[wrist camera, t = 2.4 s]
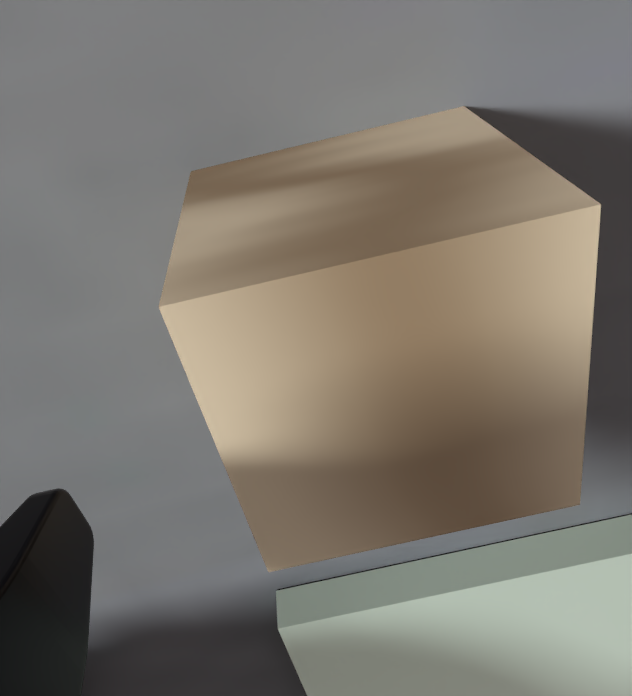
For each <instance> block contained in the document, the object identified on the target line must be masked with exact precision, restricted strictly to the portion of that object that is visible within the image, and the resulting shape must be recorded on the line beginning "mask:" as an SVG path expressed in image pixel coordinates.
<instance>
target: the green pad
mask: <svg viewBox="0 0 632 696" xmlns="http://www.w3.org/2000/svg"><path fill="white" fill-rule="evenodd" d="M276 603H277V624H278V631H279V633H280V635H281V637H282V640H283V642H284V644H285V647H286V649H287V651H288V653H289V656H290V658H291V660H292V662H293V665H294V667H295V669H296V672H297V674H298V676H299V678H300V681H301V683H302V685H303V687H304V690H305V692H306V694H307V696H632V515H627V516H622V517H618V518H613V519H608V520H604V521H599V522H594V523H590V524H585V525H580V526H576V527H571V528H566V529H562V530H557V531H552V532H548V533H543V534H538V535H534V536H529V537H524V538H520V539H515V540H510V541H506V542H501V543H496V544H492V545H487V546H483V547H478V548H473V549H469V550H464V551H459V552H455V553H450V554H445V555H441V556H436V557H431V558H427V559H422V560H417V561H413V562H408V563H403V564H399V565H394V566H389V567H385V568H380V569H375V570H371V571H366V572H361V573H357V574H352V575H347V576H343V577H338V578H333V579H329V580H324V581H319V582H315V583H310V584H305V585H301V586H296V587H291V588H287V589H282V590H277V591H276Z"/></svg>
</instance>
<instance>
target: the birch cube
mask: <svg viewBox="0 0 632 696" xmlns="http://www.w3.org/2000/svg"><path fill="white" fill-rule="evenodd" d="M600 213H601V204H600V203H599V202H597V201H596V200H594V199H593V198H592V197H590V196H589V195H588V194H586V193H585V192H583V191H582V190H581V189H579V188H578V187H576V186H575V185H574V184H572V183H571V182H569V181H568V180H567V179H565V178H564V177H562V176H561V175H560V174H558V173H557V172H555V171H554V170H553V169H551V168H550V167H548V166H547V165H546V164H544V163H543V162H541V161H540V160H539V159H537V158H536V157H534V156H533V155H532V154H530V153H529V152H527V151H526V150H525V149H523V148H522V147H520V146H519V145H518V144H516V143H515V142H513V141H512V140H511V139H509V138H508V137H506V136H505V135H504V134H502V133H501V132H499V131H498V130H497V129H495V128H494V127H492V126H491V125H490V124H488V123H487V122H485V121H484V120H483V119H481V118H480V117H478V116H477V115H476V114H474V113H473V112H471V111H470V110H469V109H467V108H466V107H464V106H463V107H459V108H454V109H450V110H446V111H442V112H438V113H434V114H429V115H425V116H421V117H417V118H413V119H408V120H404V121H400V122H396V123H392V124H387V125H383V126H379V127H375V128H371V129H366V130H362V131H358V132H354V133H350V134H346V135H341V136H337V137H333V138H329V139H325V140H320V141H316V142H312V143H308V144H304V145H299V146H295V147H291V148H287V149H283V150H279V151H274V152H270V153H266V154H262V155H258V156H253V157H249V158H245V159H241V160H237V161H232V162H228V163H224V164H220V165H216V166H211V167H207V168H203V169H199V170H195V171H191V173H190V178H189V182H188V186H187V190H186V194H185V199H184V203H183V207H182V211H181V215H180V220H179V224H178V228H177V232H176V236H175V240H174V245H173V249H172V253H171V257H170V261H169V266H168V270H167V274H166V278H165V282H164V287H163V291H162V295H161V299H160V303H159V309H160V312H161V314H162V316H163V319H164V321H165V324H166V326H167V328H168V331H169V333H170V336H171V338H172V341H173V343H174V345H175V348H176V350H177V353H178V355H179V357H180V360H181V362H182V365H183V367H184V369H185V372H186V374H187V377H188V379H189V382H190V384H191V386H192V389H193V391H194V394H195V396H196V398H197V401H198V403H199V406H200V408H201V411H202V413H203V415H204V418H205V420H206V423H207V425H208V427H209V430H210V432H211V435H212V437H213V439H214V442H215V444H216V447H217V449H218V452H219V454H220V456H221V459H222V461H223V464H224V466H225V468H226V471H227V473H228V476H229V478H230V480H231V483H232V485H233V488H234V490H235V493H236V495H237V497H238V500H239V502H240V505H241V507H242V509H243V512H244V514H245V517H246V519H247V522H248V524H249V526H250V529H251V531H252V534H253V536H254V538H255V541H256V543H257V546H258V548H259V550H260V553H261V555H262V558H263V560H264V563H265V565H266V567H267V570H268V572H272V571H276V570H281V569H286V568H290V567H295V566H299V565H304V564H309V563H313V562H318V561H322V560H327V559H332V558H336V557H341V556H346V555H350V554H355V553H359V552H364V551H369V550H373V549H378V548H382V547H387V546H392V545H396V544H401V543H406V542H410V541H415V540H419V539H424V538H429V537H433V536H438V535H442V534H447V533H452V532H456V531H461V530H466V529H470V528H475V527H479V526H484V525H489V524H493V523H498V522H503V521H507V520H512V519H516V518H521V517H526V516H530V515H535V514H539V513H544V512H549V511H553V510H558V509H563V508H567V507H572V506H576V505H580V495H581V481H582V467H583V453H584V439H585V425H586V411H587V397H588V383H589V369H590V354H591V340H592V326H593V312H594V298H595V284H596V270H597V256H598V242H599V227H600Z"/></svg>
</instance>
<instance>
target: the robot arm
mask: <svg viewBox="0 0 632 696" xmlns="http://www.w3.org/2000/svg"><path fill="white" fill-rule="evenodd" d="M93 549H94V539H93V533H92V530H91V527H90V525H89V523H88V522H87V520H86V519H85V517H84V516H83V514H82V513H81V511H80V509H79V508H78V506H77V505H76V503H75V502H74V500H73V499H72V497H71V496H70V494H69V493H68V492H67V491H66V490H64V489H53V490H49V491H44V492H40V493H36V494H33V495H31V496H30V497H29V498H28V499H26V500H25V502H24V503H23V504H22V505H21V506H20V507H19V508H18V509H17V510H16V511H15V512H14V513H13V514H12V515H11V516H10V517H9V518H8V519H7V520H6V521H5V522H4V523H3V524H2V525H1V527H0V696H81V690H82V684H83V678H84V671H85V664H86V657H87V648H88V636H89V619H90V602H91V584H92V567H93Z"/></svg>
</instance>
